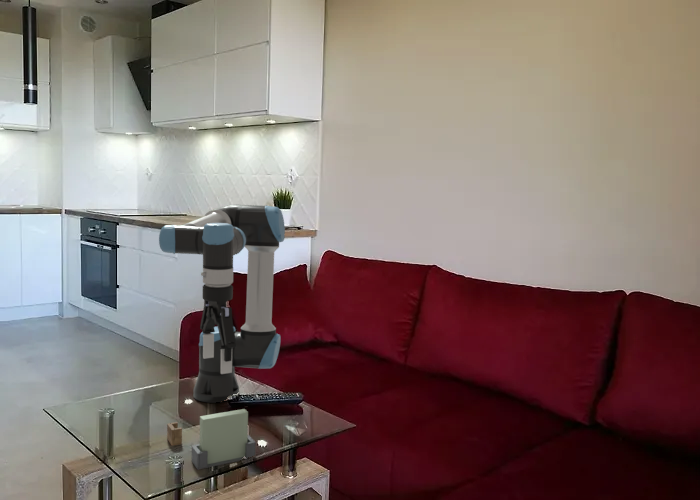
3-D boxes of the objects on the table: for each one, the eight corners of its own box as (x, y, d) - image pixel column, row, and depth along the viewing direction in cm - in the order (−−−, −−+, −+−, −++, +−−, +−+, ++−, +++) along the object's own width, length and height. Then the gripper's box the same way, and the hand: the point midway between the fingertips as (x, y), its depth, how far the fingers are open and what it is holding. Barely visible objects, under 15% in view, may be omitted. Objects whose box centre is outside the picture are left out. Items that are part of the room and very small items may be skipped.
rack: (222, 431, 177) (222, 414, 176) (227, 438, 172) (228, 420, 172) (167, 441, 169) (167, 423, 168) (171, 449, 164) (171, 430, 164)
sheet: (243, 452, 162) (244, 408, 161) (247, 456, 160) (248, 412, 158) (199, 461, 156) (199, 416, 154) (202, 465, 154) (202, 419, 152)
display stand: (248, 452, 164) (248, 434, 163) (255, 460, 160) (255, 442, 159) (191, 464, 156) (191, 445, 156) (197, 472, 152) (197, 453, 151)
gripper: (188, 276, 163) (188, 353, 165) (220, 294, 142) (219, 382, 144) (215, 275, 167) (214, 350, 169) (250, 292, 146) (249, 377, 148)
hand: (217, 365), depth 157 cm, fingers open, 13 cm apart
